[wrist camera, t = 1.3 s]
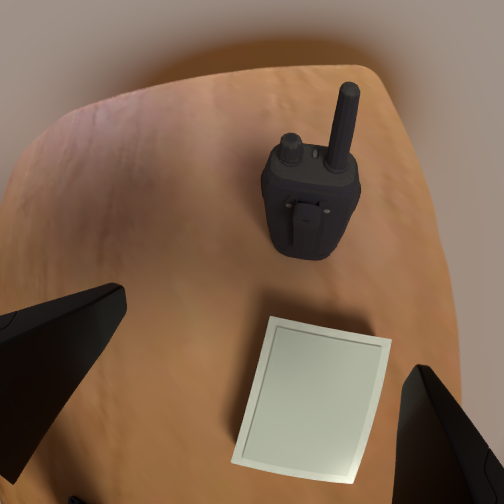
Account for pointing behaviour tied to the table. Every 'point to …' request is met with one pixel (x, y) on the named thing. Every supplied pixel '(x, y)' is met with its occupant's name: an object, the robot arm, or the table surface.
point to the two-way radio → (313, 186)
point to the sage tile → (312, 401)
